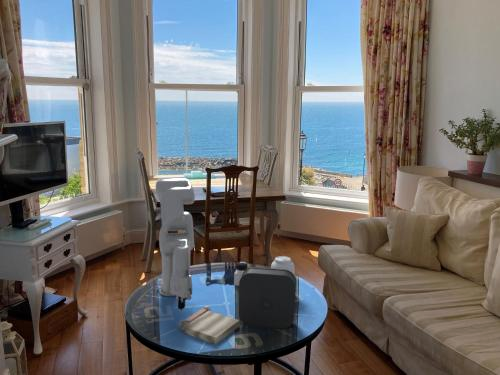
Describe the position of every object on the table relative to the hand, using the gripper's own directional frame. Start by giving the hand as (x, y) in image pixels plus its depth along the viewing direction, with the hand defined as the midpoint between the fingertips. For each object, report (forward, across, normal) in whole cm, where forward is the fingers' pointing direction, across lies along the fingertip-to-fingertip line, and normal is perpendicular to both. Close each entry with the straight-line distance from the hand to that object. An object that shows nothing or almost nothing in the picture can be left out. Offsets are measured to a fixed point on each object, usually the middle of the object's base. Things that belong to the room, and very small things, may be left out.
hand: (181, 308), depth 203 cm
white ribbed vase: (+5, +27, +49) cm, 56 cm away
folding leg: (+4, +8, +2) cm, 9 cm away
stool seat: (+4, +17, -2) cm, 18 cm away
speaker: (+4, +36, +16) cm, 40 cm away
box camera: (+6, +2, +49) cm, 49 cm away
